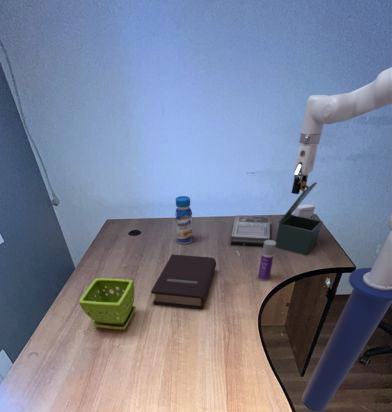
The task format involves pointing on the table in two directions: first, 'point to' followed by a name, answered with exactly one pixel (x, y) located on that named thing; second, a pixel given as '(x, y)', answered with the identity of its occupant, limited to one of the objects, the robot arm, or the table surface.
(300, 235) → the chest
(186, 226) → the beverage bottle
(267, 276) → the container
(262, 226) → the hard drive
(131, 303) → the flower pot
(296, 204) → the lid
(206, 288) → the book
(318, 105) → the robot arm
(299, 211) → the ink box
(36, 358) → the table surface
